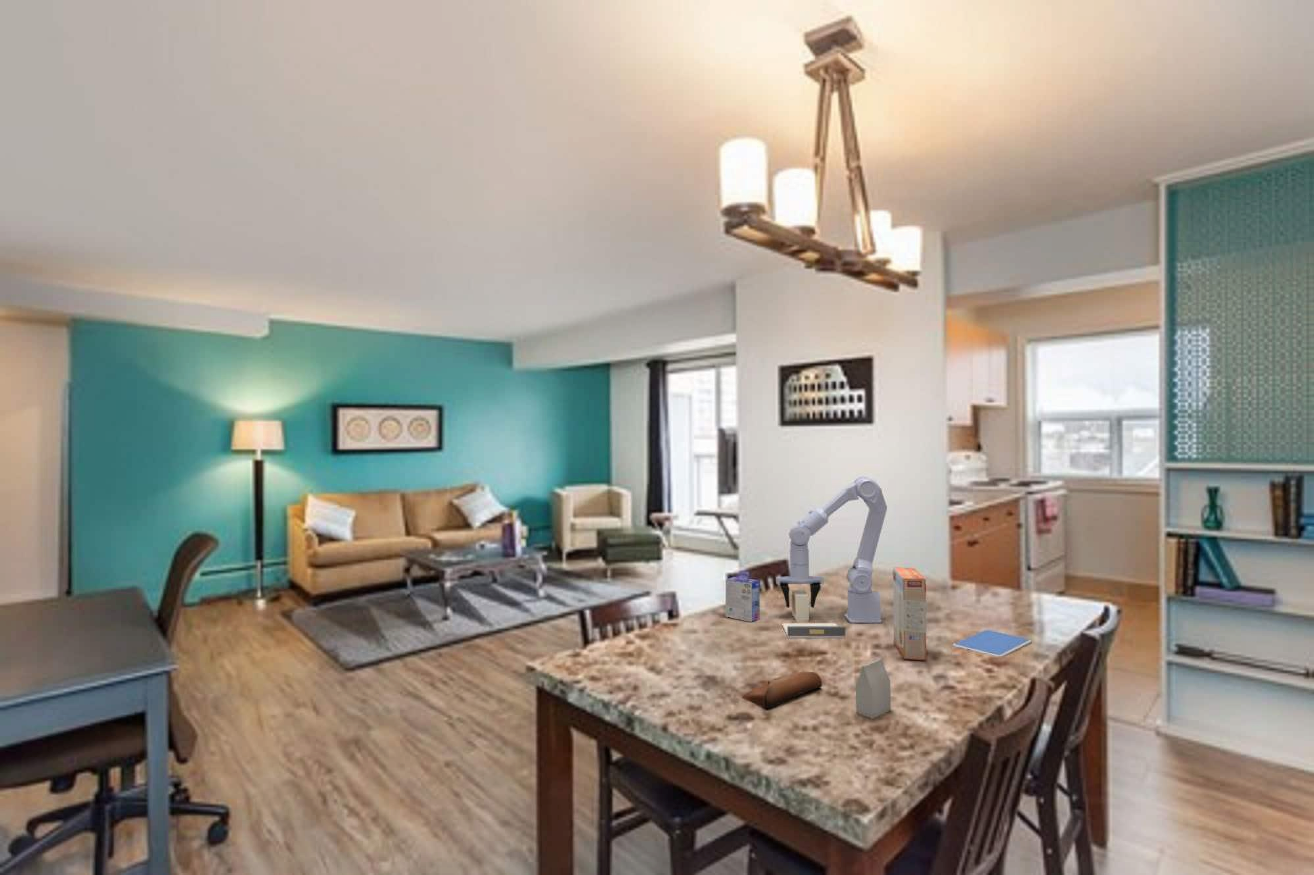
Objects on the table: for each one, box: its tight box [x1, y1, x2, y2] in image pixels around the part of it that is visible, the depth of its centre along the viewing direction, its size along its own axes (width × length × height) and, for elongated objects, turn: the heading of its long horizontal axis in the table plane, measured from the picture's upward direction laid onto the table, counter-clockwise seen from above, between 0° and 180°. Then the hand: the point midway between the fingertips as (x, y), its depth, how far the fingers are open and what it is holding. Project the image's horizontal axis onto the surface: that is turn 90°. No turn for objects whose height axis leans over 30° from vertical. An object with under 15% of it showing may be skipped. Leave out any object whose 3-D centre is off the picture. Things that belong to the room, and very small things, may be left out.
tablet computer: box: [952, 629, 1032, 658], centre depth 167 cm, size 19×13×1 cm, turn 127°
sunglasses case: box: [741, 671, 823, 710], centre depth 137 cm, size 18×7×7 cm, turn 127°
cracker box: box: [892, 567, 927, 661], centre depth 163 cm, size 14×6×21 cm, turn 168°
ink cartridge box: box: [725, 570, 761, 623], centre depth 196 cm, size 10×6×14 cm, turn 53°
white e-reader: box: [781, 622, 846, 639], centre depth 181 cm, size 16×12×3 cm
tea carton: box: [791, 589, 810, 622], centre depth 195 cm, size 4×7×8 cm, turn 177°
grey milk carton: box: [855, 658, 892, 719], centre depth 128 cm, size 4×7×10 cm, turn 128°
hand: (800, 606), depth 195 cm, fingers open, 7 cm apart
